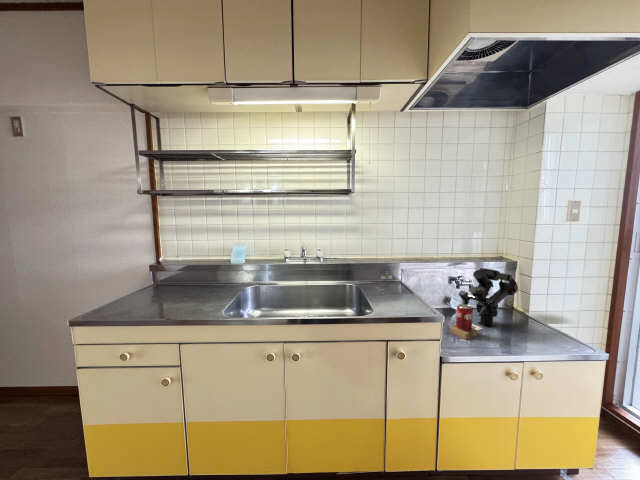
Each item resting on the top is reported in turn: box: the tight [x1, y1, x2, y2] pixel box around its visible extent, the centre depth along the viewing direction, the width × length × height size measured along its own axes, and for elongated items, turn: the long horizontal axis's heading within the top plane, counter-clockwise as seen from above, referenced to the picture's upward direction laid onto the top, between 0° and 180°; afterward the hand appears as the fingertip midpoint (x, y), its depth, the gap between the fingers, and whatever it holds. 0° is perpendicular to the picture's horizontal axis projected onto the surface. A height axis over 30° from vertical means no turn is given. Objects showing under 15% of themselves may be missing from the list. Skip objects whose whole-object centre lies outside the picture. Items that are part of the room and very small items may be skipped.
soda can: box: [455, 303, 474, 331], centre depth 140 cm, size 7×7×12 cm
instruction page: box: [472, 323, 483, 331], centre depth 148 cm, size 10×7×1 cm
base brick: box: [449, 324, 478, 341], centre depth 141 cm, size 9×9×3 cm
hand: (470, 312), depth 143 cm, fingers open, 9 cm apart
